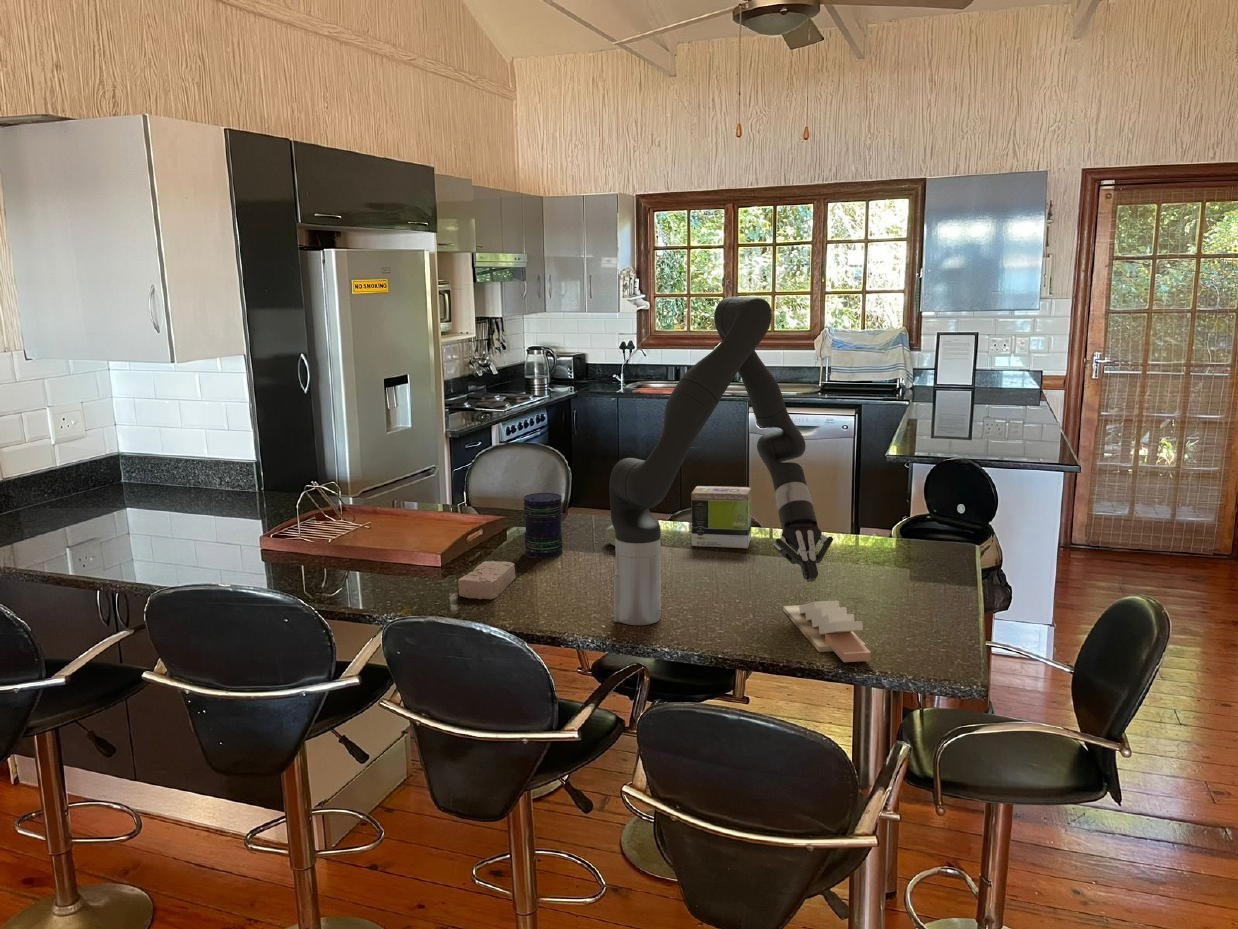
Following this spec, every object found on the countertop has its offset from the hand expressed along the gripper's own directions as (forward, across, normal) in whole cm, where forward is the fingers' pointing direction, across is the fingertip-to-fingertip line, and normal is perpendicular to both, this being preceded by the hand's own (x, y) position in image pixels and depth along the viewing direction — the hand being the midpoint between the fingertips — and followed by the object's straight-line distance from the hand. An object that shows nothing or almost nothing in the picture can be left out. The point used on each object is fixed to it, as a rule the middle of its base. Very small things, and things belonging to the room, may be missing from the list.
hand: (811, 580), depth 191 cm
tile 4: (+13, 0, -4) cm, 14 cm away
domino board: (+10, 0, +1) cm, 11 cm away
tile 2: (+7, 0, +1) cm, 8 cm away
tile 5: (+16, 0, -7) cm, 17 cm away
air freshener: (-37, -31, +48) cm, 68 cm away
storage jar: (-34, -53, +45) cm, 77 cm away
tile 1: (+4, 0, +4) cm, 6 cm away
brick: (-15, -67, +27) cm, 73 cm away
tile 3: (+10, 0, -1) cm, 10 cm away
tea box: (-36, -5, +47) cm, 59 cm away
